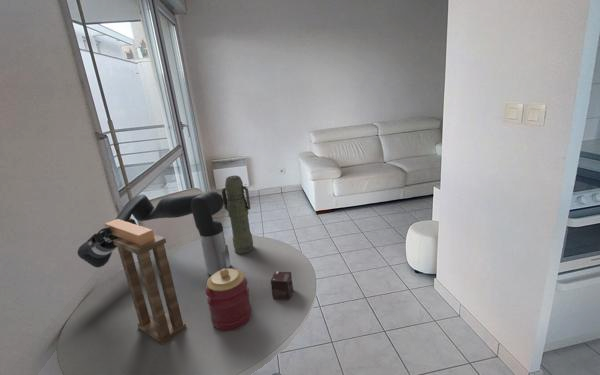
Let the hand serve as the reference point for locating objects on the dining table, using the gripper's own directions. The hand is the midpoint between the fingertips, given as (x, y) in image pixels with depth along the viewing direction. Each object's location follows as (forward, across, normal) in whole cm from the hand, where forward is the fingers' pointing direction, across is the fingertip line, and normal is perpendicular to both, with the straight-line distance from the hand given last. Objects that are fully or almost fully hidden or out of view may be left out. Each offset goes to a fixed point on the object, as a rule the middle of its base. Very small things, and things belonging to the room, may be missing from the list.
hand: (121, 225), depth 93 cm
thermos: (-20, -50, -27) cm, 60 cm away
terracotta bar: (+2, 0, -4) cm, 5 cm away
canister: (+5, -14, -42) cm, 45 cm away
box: (+12, -32, -46) cm, 57 cm away
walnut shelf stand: (-9, 0, -34) cm, 35 cm away
